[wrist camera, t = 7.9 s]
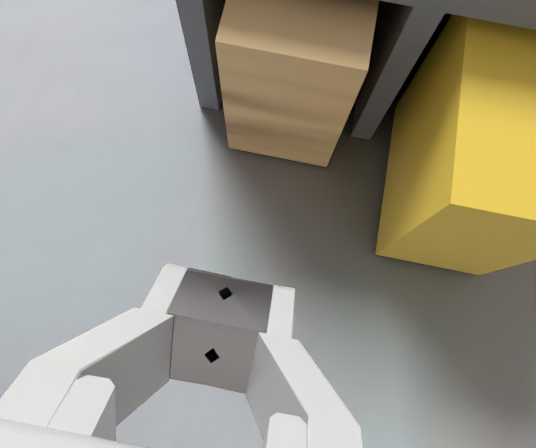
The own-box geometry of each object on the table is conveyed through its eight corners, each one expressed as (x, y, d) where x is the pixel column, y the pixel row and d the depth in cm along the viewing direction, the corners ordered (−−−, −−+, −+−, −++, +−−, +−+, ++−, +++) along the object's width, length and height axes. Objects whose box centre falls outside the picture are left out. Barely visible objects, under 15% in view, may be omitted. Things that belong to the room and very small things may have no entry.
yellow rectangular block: (479, 275, 20) (619, 236, 13) (375, 254, 20) (450, 203, 13) (489, 125, 22) (615, 12, 15) (395, 106, 22) (470, -15, 15)
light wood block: (326, 166, 21) (367, 70, 14) (228, 147, 21) (214, 41, 14) (349, 33, 23) (397, -116, 16) (260, 16, 24) (263, -141, 16)
